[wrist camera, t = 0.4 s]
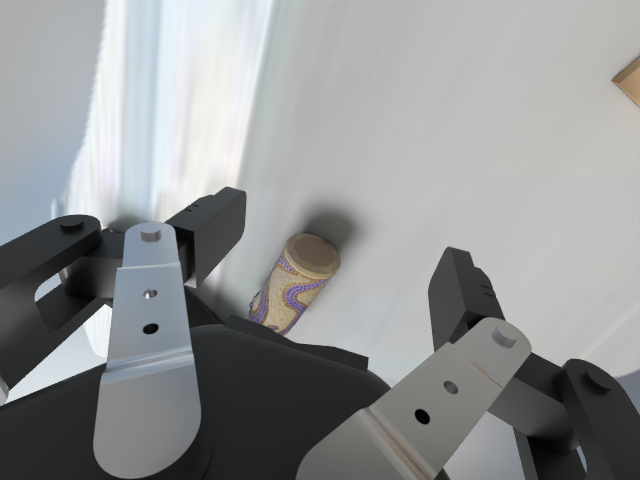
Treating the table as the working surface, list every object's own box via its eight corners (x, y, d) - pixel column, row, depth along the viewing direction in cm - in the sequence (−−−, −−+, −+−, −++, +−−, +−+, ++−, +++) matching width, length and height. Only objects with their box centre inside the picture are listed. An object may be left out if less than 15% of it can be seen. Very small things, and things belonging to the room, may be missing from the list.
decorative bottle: (295, 220, 41) (279, 253, 36) (346, 248, 42) (337, 283, 37) (240, 319, 57) (223, 351, 52) (277, 337, 58) (264, 370, 53)
